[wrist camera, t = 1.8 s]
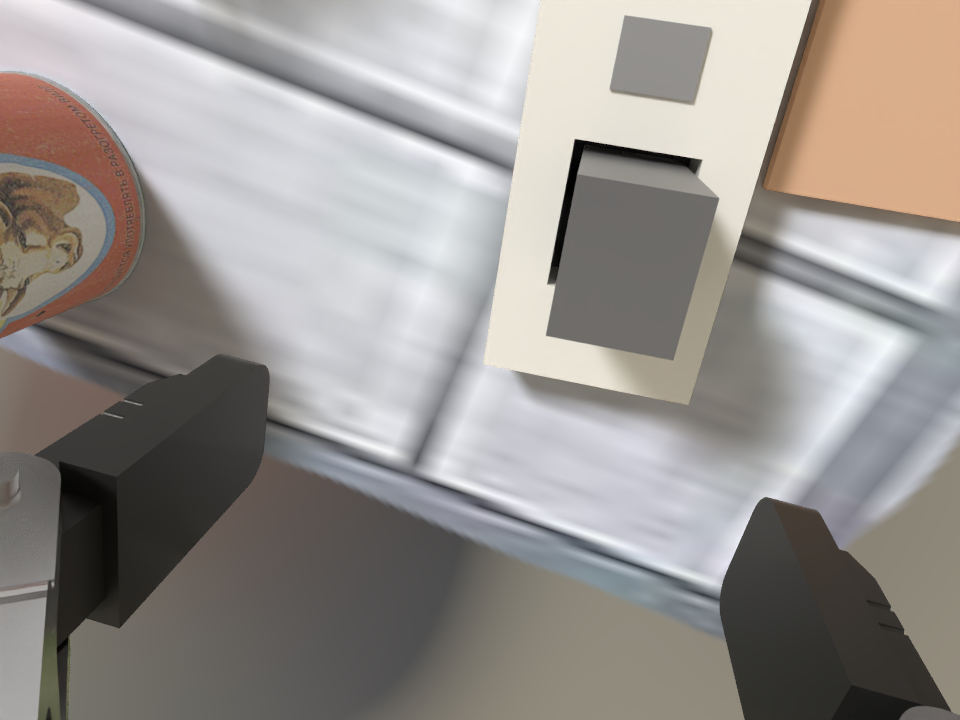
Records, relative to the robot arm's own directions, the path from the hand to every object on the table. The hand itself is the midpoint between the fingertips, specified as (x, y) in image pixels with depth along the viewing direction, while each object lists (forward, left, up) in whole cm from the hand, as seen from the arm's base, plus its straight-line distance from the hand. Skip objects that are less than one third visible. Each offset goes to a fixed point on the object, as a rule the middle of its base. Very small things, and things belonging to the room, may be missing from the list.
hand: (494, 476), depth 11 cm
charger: (-1, +2, -21) cm, 21 cm away
